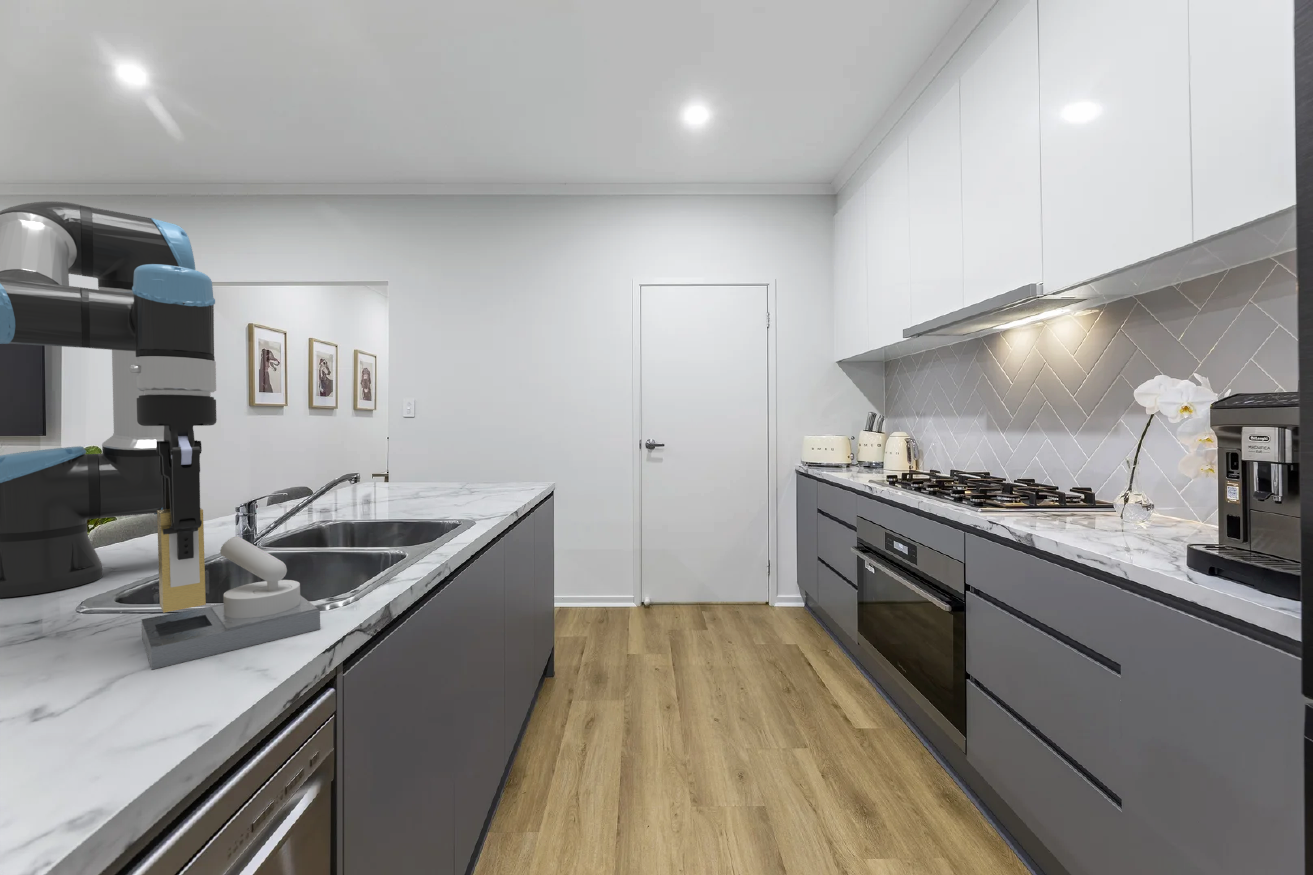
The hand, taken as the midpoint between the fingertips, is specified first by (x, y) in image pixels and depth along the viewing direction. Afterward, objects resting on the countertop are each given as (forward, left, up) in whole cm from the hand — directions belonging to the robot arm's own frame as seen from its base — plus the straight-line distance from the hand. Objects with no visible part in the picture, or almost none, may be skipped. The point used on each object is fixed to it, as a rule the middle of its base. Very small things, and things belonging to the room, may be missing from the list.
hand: (182, 580), depth 70 cm
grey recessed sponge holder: (0, +5, -8) cm, 10 cm away
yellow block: (0, 0, -3) cm, 3 cm away
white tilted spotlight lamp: (-1, +8, -6) cm, 10 cm away
